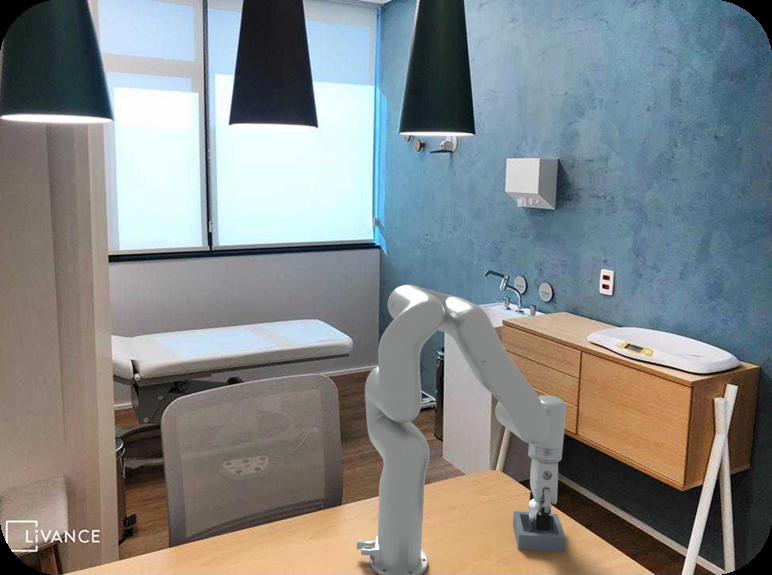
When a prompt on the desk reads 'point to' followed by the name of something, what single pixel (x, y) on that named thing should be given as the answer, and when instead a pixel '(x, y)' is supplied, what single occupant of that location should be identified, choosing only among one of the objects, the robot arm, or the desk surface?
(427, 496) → the desk surface
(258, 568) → the desk surface
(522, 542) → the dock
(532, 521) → the milkshake
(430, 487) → the desk surface
